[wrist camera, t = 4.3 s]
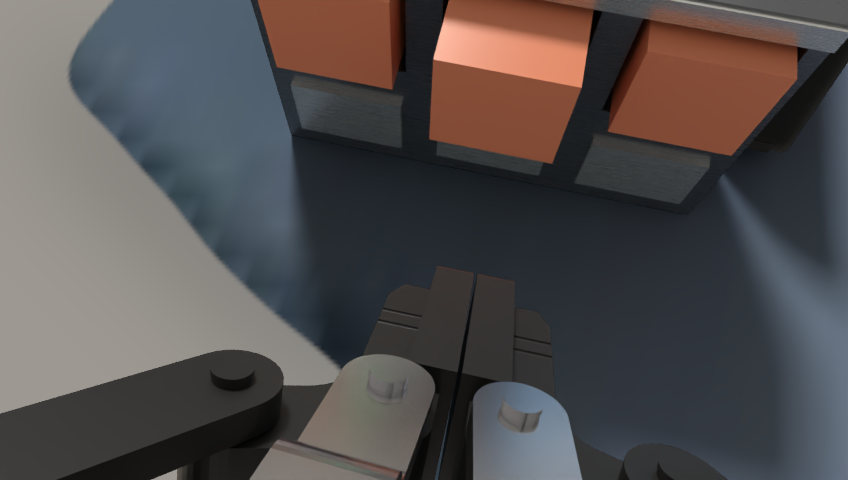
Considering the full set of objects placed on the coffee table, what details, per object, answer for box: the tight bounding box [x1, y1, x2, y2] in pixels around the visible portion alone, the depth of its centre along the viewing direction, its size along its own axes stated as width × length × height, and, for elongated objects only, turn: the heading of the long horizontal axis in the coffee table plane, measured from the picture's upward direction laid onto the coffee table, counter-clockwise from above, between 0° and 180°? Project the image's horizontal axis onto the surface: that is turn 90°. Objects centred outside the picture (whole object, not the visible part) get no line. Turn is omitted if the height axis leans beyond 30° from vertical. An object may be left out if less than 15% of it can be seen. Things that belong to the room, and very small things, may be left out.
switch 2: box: [429, 0, 594, 164], centre depth 26 cm, size 5×5×5 cm
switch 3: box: [608, 19, 797, 156], centre depth 26 cm, size 5×5×5 cm
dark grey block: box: [251, 0, 848, 215], centre depth 30 cm, size 21×6×14 cm, turn 78°
